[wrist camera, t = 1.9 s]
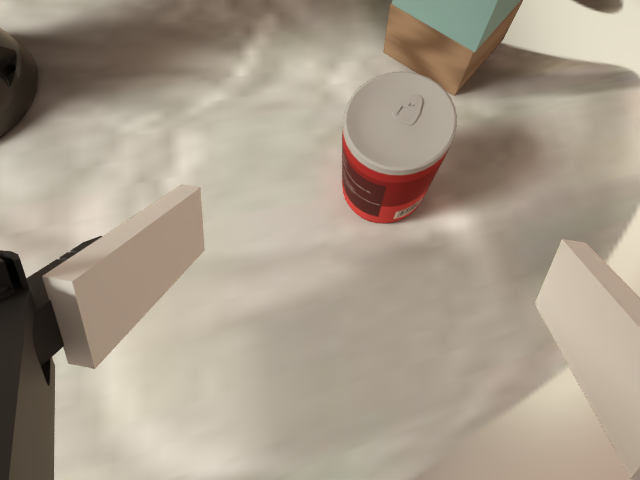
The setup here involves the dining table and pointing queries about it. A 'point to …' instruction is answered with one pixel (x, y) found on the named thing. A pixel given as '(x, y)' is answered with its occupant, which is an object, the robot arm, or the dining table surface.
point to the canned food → (394, 144)
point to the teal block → (460, 17)
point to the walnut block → (437, 49)
